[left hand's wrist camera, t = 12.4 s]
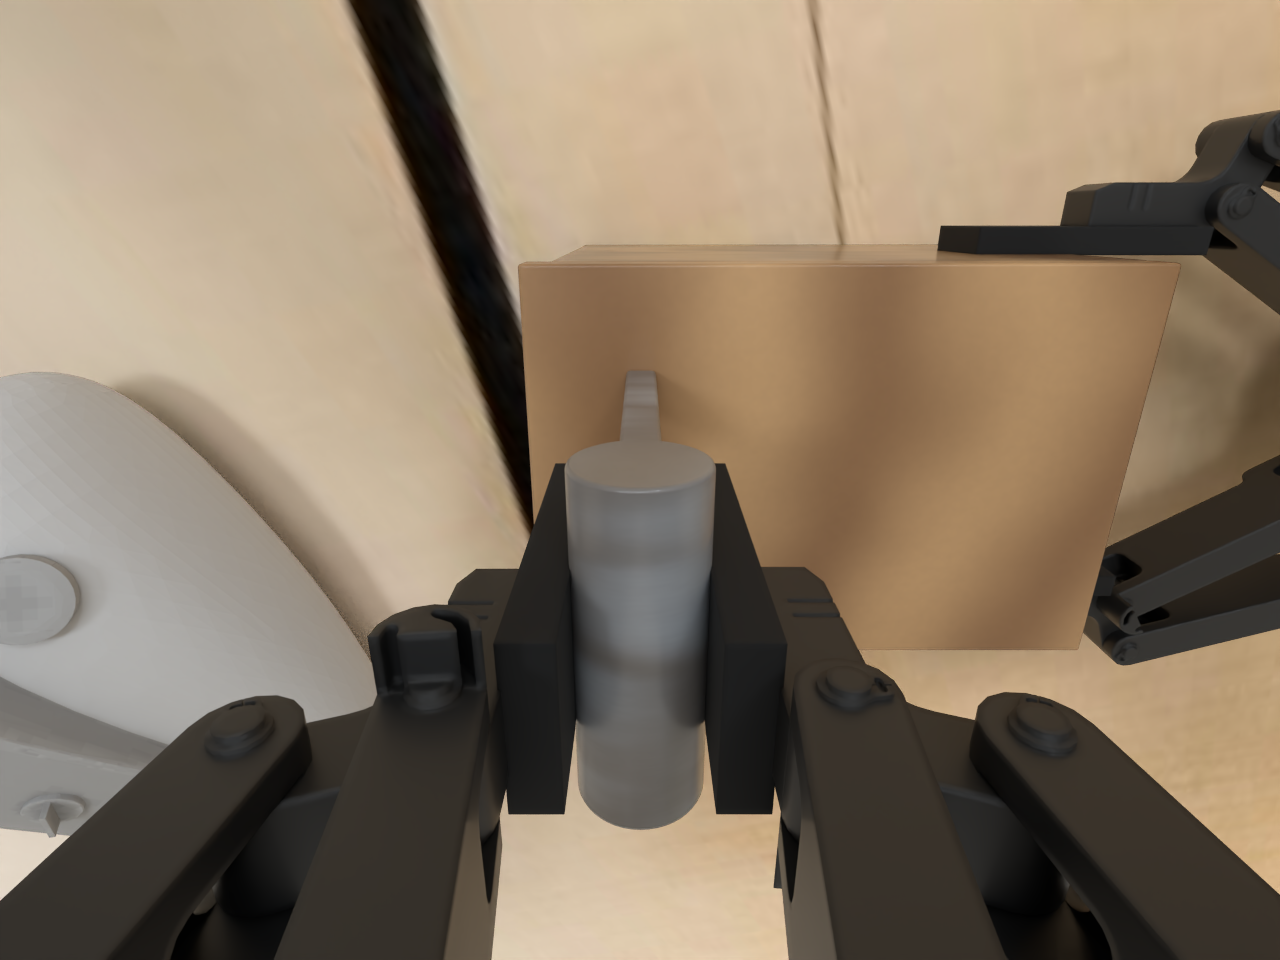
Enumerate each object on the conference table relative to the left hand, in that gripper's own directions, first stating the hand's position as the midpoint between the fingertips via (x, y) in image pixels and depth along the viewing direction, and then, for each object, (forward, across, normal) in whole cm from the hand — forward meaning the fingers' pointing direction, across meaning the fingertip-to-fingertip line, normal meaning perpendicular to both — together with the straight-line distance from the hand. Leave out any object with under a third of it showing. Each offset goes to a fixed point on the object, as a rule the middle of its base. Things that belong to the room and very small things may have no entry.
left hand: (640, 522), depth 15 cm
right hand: (+8, +10, 0) cm, 13 cm away
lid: (+4, +5, 0) cm, 6 cm away
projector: (+15, -21, -11) cm, 28 cm away
